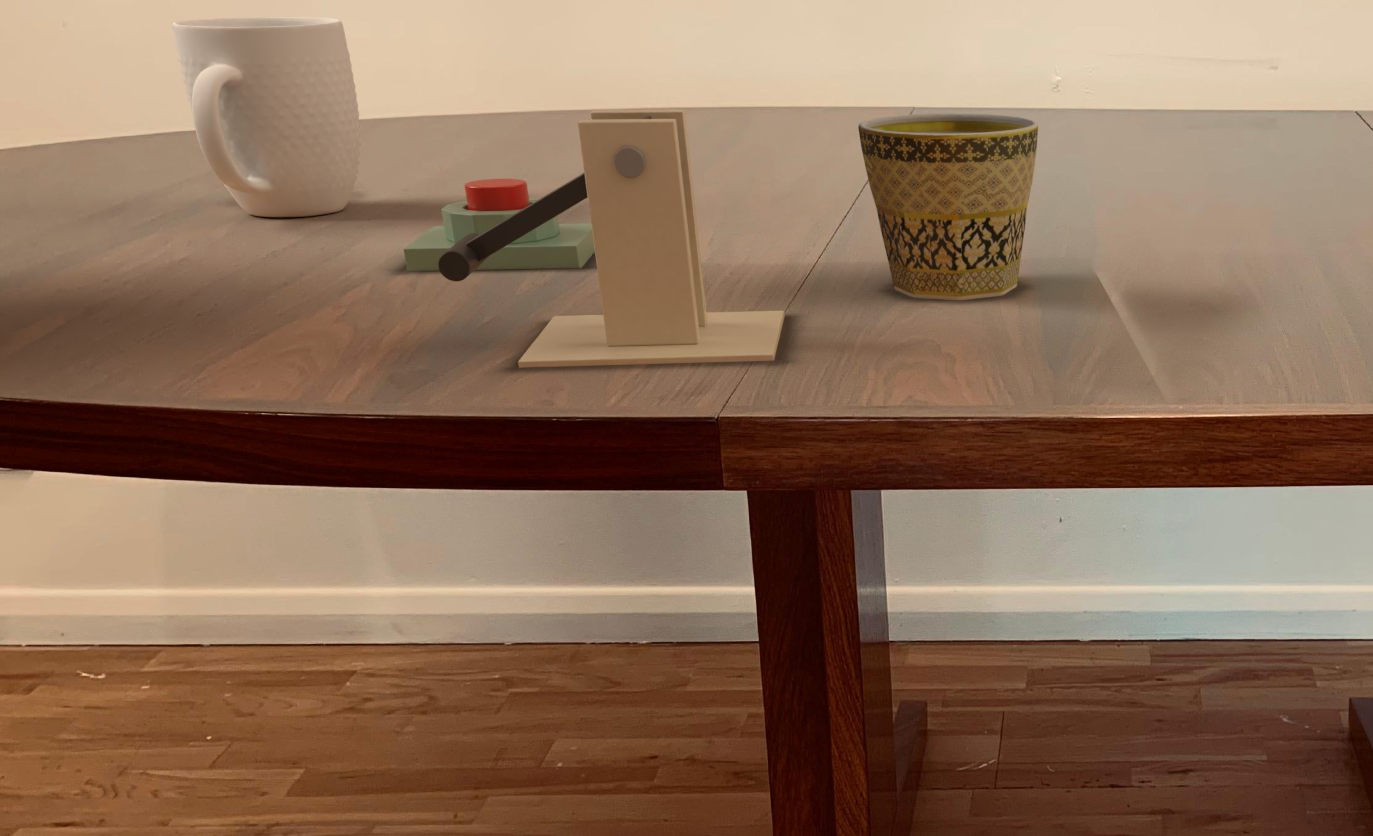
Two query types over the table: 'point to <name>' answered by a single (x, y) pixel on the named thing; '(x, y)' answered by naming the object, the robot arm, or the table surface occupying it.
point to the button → (497, 195)
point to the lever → (509, 230)
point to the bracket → (647, 258)
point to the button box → (530, 251)
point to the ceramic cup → (951, 199)
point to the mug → (274, 110)
